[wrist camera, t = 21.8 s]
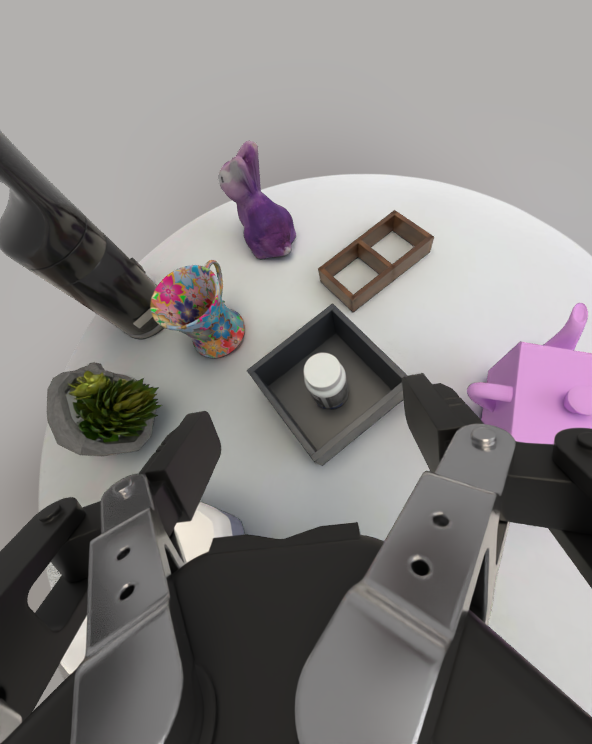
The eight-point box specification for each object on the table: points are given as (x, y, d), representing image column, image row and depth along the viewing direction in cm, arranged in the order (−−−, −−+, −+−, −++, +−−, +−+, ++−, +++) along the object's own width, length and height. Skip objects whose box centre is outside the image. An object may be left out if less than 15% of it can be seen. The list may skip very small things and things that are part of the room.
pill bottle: (348, 375, 39) (345, 348, 32) (348, 410, 38) (344, 391, 30) (313, 375, 40) (301, 349, 33) (311, 409, 39) (298, 390, 31)
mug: (236, 368, 44) (200, 335, 34) (184, 355, 47) (137, 321, 37) (263, 300, 47) (237, 252, 38) (213, 291, 50) (178, 244, 40)
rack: (320, 281, 46) (317, 268, 44) (392, 225, 47) (394, 209, 44) (353, 312, 43) (352, 300, 40) (430, 252, 44) (434, 236, 41)
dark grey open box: (263, 386, 42) (246, 370, 36) (336, 328, 43) (332, 303, 37) (322, 465, 37) (314, 461, 31) (405, 397, 37) (413, 380, 31)
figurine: (244, 223, 54) (204, 134, 40) (299, 217, 52) (276, 120, 38) (236, 265, 51) (189, 184, 37) (294, 261, 49) (267, 172, 35)
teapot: (428, 392, 37) (453, 357, 27) (529, 345, 37) (592, 292, 27) (511, 518, 31) (582, 534, 21) (632, 464, 30) (764, 454, 20)
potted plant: (89, 362, 46) (157, 332, 40) (133, 431, 49) (201, 413, 43) (-3, 399, 35) (71, 365, 29) (61, 484, 39) (139, 469, 33)
